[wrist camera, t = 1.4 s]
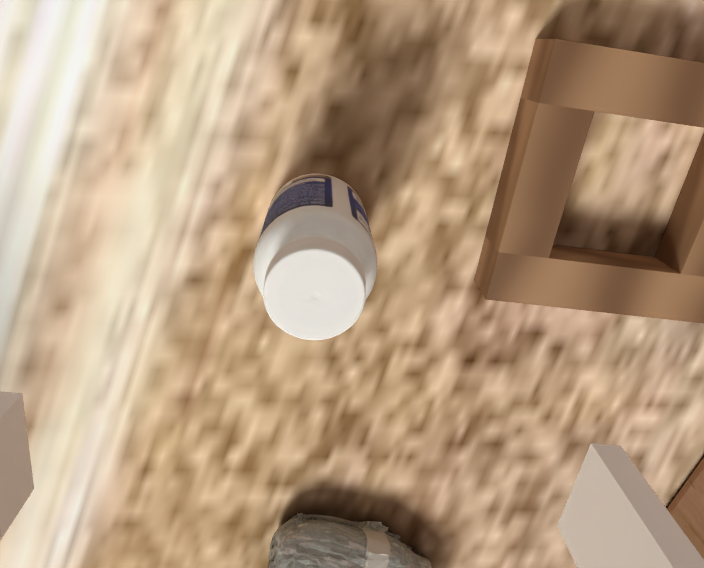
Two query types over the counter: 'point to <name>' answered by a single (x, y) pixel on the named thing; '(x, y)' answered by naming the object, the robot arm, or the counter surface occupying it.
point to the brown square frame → (557, 176)
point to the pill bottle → (315, 257)
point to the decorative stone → (339, 545)
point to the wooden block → (691, 508)
